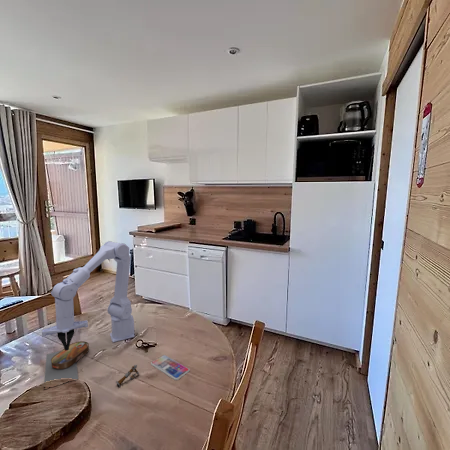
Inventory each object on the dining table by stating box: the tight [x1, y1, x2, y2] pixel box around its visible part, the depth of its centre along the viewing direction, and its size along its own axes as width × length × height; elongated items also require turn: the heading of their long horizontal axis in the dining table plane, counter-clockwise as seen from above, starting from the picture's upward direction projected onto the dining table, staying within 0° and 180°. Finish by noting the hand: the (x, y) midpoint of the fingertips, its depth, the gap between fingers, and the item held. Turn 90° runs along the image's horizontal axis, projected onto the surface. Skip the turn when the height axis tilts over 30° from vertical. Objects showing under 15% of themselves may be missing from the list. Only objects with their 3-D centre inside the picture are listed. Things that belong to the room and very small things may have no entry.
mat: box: [43, 350, 79, 383], centre depth 98 cm, size 10×22×1 cm, turn 32°
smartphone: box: [150, 354, 191, 381], centre depth 99 cm, size 7×1×15 cm
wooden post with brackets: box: [115, 364, 140, 388], centre depth 91 cm, size 2×8×4 cm, turn 139°
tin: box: [51, 340, 90, 369], centre depth 102 cm, size 15×3×8 cm
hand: (66, 348), depth 98 cm, fingers closed
